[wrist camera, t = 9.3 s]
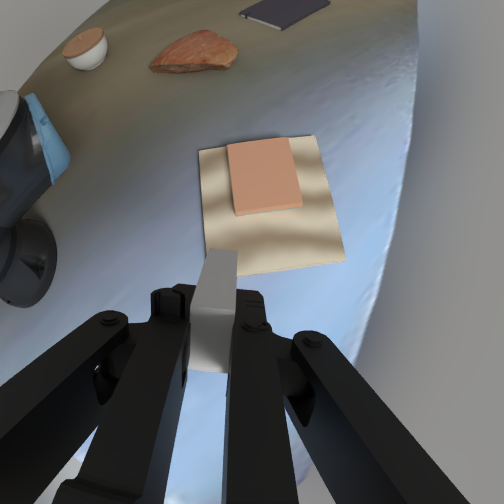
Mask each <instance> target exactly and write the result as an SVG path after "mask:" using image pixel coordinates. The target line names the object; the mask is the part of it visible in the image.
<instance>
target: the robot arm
mask: <svg viewBox="0 0 504 504" xmlns="http://www.w3.org/2000/svg"><path fill="white" fill-rule="evenodd" d="M70 159H71V157H70V153H69V151H68V149H67V147H66V146H65V144H64V142H63V141H62V139H61V138H60V136H59V134H58V133H57V131H56V129H55V128H54V126H53V124H52V123H51V121H50V119H49V118H48V116H47V114H46V112H45V111H44V109H43V107H42V105H41V104H40V102H39V100H38V99H37V97H36V95H35V94H34V93H31V94H29V95H26V96H25V97H24V99H22V98H21V96H20V95H19V94H18V93H17V92H16V91H14V90H8V91H2V92H0V298H1V299H2V300H3V301H4V302H6V303H7V304H9V305H12V306H16V307H20V308H27V307H31V306H33V305H34V304H36V303H37V302H38V301H40V300H41V299H42V297H43V296H44V295H45V293H46V292H47V290H48V289H49V287H50V285H51V282H52V280H53V277H54V273H55V269H56V262H57V250H56V244H55V240H54V237H53V235H52V233H51V232H50V230H49V229H48V228H47V227H45V226H44V225H42V224H41V223H39V222H37V221H35V220H31V219H21V217H22V216H23V215H24V214H25V213H26V212H27V211H28V209H29V208H30V207H31V206H32V205H33V204H34V203H35V202H36V201H37V200H38V199H39V198H40V196H41V195H42V194H43V193H44V192H45V191H46V190H47V189H48V188H49V187H50V186H53V185H54V183H55V180H56V179H57V178H58V177H59V176H60V175H61V174H62V173H63V172H64V171H65V170H66V169H67V167H68V166H69V164H70ZM237 259H238V251H234V250H224V249H214V248H209V250H208V253H207V256H206V259H205V262H204V265H203V268H202V271H201V274H200V277H199V280H198V283H197V286H196V285H187V284H177V285H175V286H174V287H172V288H161V289H157V290H155V291H153V292H152V293H151V316H150V318H149V320H148V322H144V323H128V317H127V316H126V315H125V314H123V313H121V312H118V311H114V310H111V311H110V310H107V311H103V312H99V313H97V314H95V315H94V316H93V317H91V318H90V319H88V320H87V321H86V322H84V323H83V324H82V325H80V326H79V327H78V328H76V329H75V330H73V331H72V332H71V333H69V334H68V335H67V336H65V337H64V338H63V339H61V340H60V341H59V342H57V343H56V344H55V345H53V346H52V347H51V348H49V349H48V350H47V351H46V352H44V353H43V354H42V355H40V356H39V357H38V358H36V359H35V360H34V361H32V362H31V363H30V364H29V365H27V366H26V367H25V368H23V369H22V370H21V371H20V372H18V373H17V374H16V375H15V376H13V377H12V378H11V379H9V380H8V381H7V382H6V383H4V384H3V385H2V386H1V387H0V504H34V502H35V501H36V500H37V499H38V497H39V496H40V495H41V494H42V493H43V491H44V490H45V489H46V488H47V486H48V485H49V484H50V483H51V482H52V480H53V479H54V478H55V477H56V475H57V474H58V473H59V472H60V470H61V469H62V468H63V467H64V466H65V464H66V463H67V462H68V461H69V460H70V458H71V457H72V456H73V455H74V454H75V453H76V451H77V450H78V449H79V448H80V446H81V445H82V444H83V443H84V442H85V440H86V439H87V438H88V437H89V436H90V434H91V433H92V432H93V431H94V430H95V428H96V427H97V426H98V425H99V426H98V428H97V430H96V432H95V435H94V437H93V439H92V442H91V444H90V447H89V449H88V451H87V454H86V456H85V459H84V461H83V463H82V466H81V468H80V471H79V473H78V475H77V477H76V478H75V479H66V480H65V481H63V482H62V483H61V484H60V486H59V488H58V490H57V492H56V494H55V497H54V499H53V502H52V504H164V498H165V492H166V486H167V480H168V475H169V469H170V463H171V458H172V453H173V447H174V442H175V437H176V432H177V426H178V421H179V416H180V411H181V406H182V401H183V397H184V392H185V387H186V382H187V367H188V363H189V369H191V370H200V371H209V372H218V373H228V380H227V390H226V414H225V434H224V455H223V478H222V502H221V504H299V501H298V495H297V487H296V481H295V474H294V467H293V461H292V454H291V448H290V441H289V434H288V428H287V421H286V415H285V409H286V411H287V413H288V415H289V417H290V419H291V421H292V423H293V425H294V426H295V428H296V430H297V432H298V434H299V436H300V438H301V440H302V442H303V444H304V446H305V448H306V449H307V451H308V453H309V455H310V457H311V459H312V461H313V463H314V464H315V466H316V468H317V470H318V472H319V474H320V476H321V477H322V479H323V481H324V483H325V485H326V487H327V488H328V490H329V492H330V494H331V496H332V497H333V499H334V501H335V503H336V504H470V503H469V502H468V501H467V500H466V499H465V497H464V496H463V495H462V494H461V493H460V491H459V490H458V489H457V488H456V487H455V485H454V484H453V483H452V482H451V481H450V480H449V478H448V477H447V476H446V475H445V474H444V473H443V471H442V470H441V469H440V468H439V467H438V465H437V464H436V463H435V462H434V461H433V459H431V457H430V456H429V455H428V454H427V453H426V451H425V450H424V449H423V448H422V447H421V445H420V444H419V443H418V442H417V441H416V440H415V438H414V437H413V436H412V435H411V434H410V432H409V431H408V430H407V429H406V428H405V427H404V425H403V424H402V423H401V422H400V421H399V420H398V418H397V417H396V416H395V415H394V414H393V412H392V411H391V410H390V409H389V408H388V407H387V405H386V404H385V403H384V402H383V401H382V400H381V398H380V397H379V396H378V395H377V394H376V393H375V391H374V390H373V389H372V388H371V387H370V385H369V384H368V383H367V382H366V381H365V380H364V378H363V377H362V376H361V375H360V374H359V373H358V371H357V370H356V369H355V368H354V367H353V366H352V364H351V363H350V362H349V361H348V360H347V359H346V357H345V356H344V355H343V354H342V353H341V352H340V350H339V349H338V348H337V347H336V346H335V345H334V343H333V342H332V341H331V340H330V339H329V338H328V337H327V336H326V335H324V334H321V333H319V332H317V331H311V330H310V331H300V332H298V333H296V334H295V335H294V337H293V340H292V339H288V338H284V337H281V336H278V335H276V334H274V333H273V332H272V327H271V325H270V324H269V323H268V322H267V319H266V313H265V306H264V299H263V296H262V295H261V294H260V293H259V292H258V291H253V290H243V289H236V283H237ZM97 365H98V368H97V369H96V370H95V368H96V367H97ZM284 407H285V409H284Z"/></svg>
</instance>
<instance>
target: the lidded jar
mask: <svg viewBox="0 0 504 504" xmlns="http://www.w3.org/2000/svg"><path fill="white" fill-rule="evenodd" d="M107 49H108V44H107V40H106V37H105V35H104V32H103V30H102V29H101V28H91V29H88V30H86V31H84V32H82V33H80V34H78V35H77V36H75V37H74V38H73V39H72V40H70V41H69V42H68V43H67V44H66V46H65V47H64V49H63V52H62V54H63V56H64V57H65V58H66V60H67V61H68V62H69V64H70V65H71V66H73V67H74V68H76V69H79V70H85V71H89V70H92V69H94V68H96V67H97V66H99V65H100V64H101V63H102V62H103V61H104V59H105V56H106V53H107Z"/></svg>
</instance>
